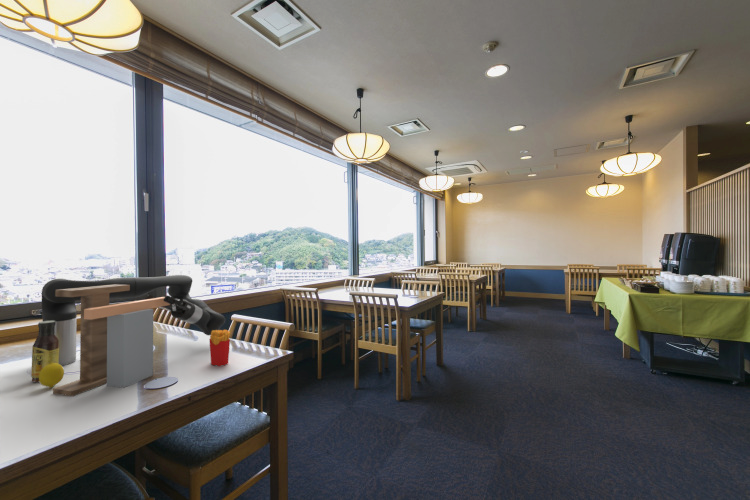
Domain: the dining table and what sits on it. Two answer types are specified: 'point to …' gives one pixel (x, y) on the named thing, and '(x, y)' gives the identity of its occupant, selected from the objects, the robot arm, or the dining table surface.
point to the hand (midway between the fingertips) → (155, 297)
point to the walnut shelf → (90, 338)
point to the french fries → (219, 347)
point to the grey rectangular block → (129, 347)
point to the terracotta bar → (123, 308)
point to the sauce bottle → (44, 348)
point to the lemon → (51, 374)
